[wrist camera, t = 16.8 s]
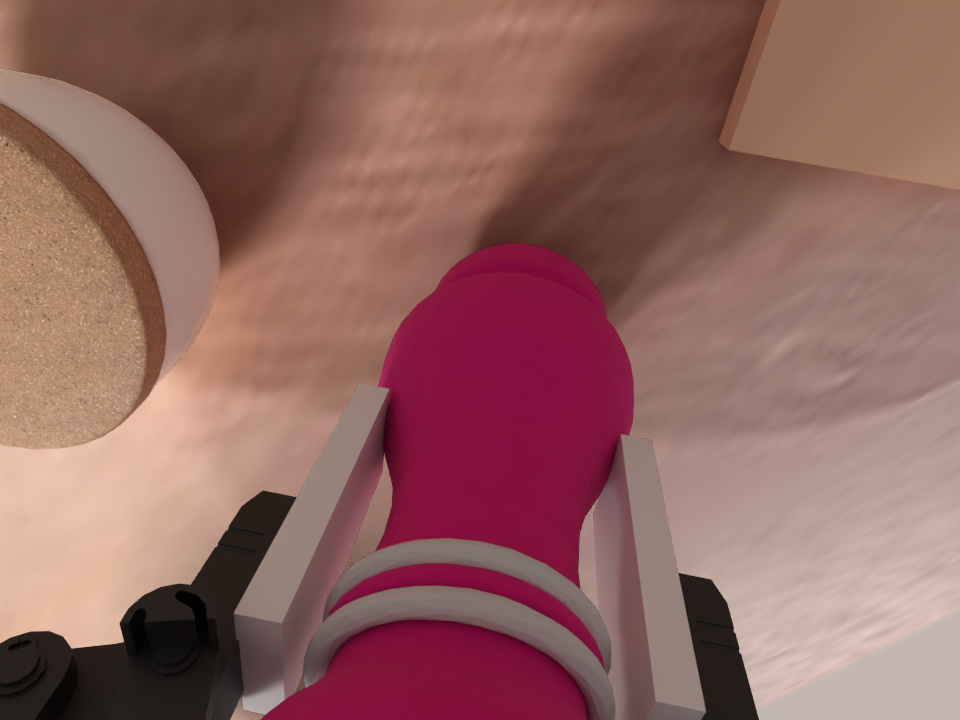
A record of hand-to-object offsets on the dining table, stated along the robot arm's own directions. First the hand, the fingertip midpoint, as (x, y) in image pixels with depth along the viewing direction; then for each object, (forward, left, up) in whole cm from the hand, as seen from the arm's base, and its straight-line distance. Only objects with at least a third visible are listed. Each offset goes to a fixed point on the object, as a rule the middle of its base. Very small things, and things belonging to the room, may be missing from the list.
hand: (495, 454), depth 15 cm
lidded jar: (+1, +15, -9) cm, 17 cm away
